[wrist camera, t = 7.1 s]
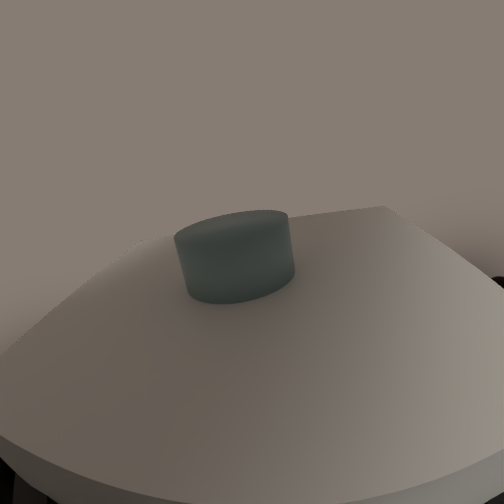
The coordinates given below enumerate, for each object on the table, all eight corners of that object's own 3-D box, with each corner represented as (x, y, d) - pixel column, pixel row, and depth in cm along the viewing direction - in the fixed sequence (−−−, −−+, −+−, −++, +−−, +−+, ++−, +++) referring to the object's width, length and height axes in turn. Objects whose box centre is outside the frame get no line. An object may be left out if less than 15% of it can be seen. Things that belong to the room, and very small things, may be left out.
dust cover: (376, 391, 14) (381, 175, 10) (415, 555, 4) (630, 294, 1) (199, 406, 15) (134, 213, 12) (152, 560, 6) (-77, 350, 2)
